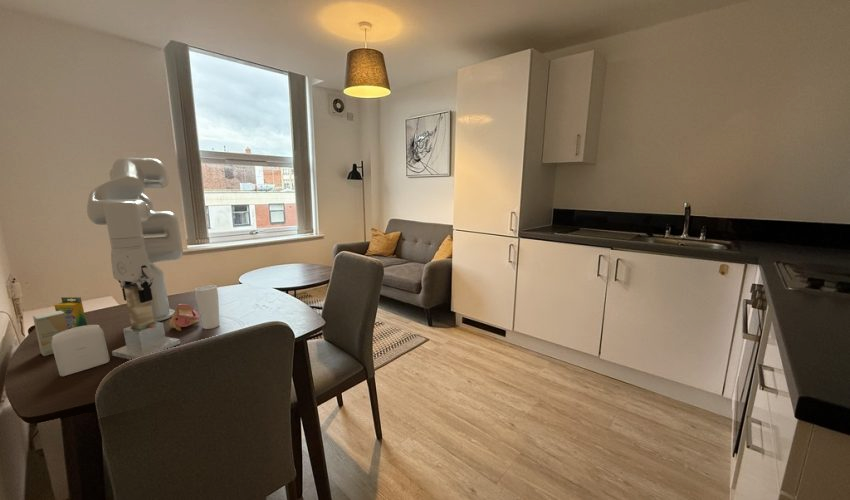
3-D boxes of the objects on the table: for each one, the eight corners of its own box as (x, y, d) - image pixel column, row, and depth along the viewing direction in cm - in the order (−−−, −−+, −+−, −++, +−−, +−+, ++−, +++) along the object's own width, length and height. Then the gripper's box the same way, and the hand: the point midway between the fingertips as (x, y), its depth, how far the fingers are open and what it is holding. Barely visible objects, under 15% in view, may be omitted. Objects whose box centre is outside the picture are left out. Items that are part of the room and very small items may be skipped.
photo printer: (59, 378, 90) (49, 336, 87) (58, 373, 92) (48, 331, 90) (111, 363, 97) (102, 323, 95) (108, 358, 100) (100, 319, 98)
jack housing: (112, 355, 101) (107, 329, 100) (154, 338, 113) (150, 315, 111) (140, 361, 98) (134, 335, 96) (180, 343, 109) (176, 319, 107)
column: (131, 328, 102) (123, 285, 100) (146, 323, 106) (138, 281, 104) (140, 330, 101) (132, 286, 99) (155, 325, 105) (147, 282, 102)
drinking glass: (211, 331, 118) (205, 291, 115) (195, 329, 119) (189, 290, 116) (226, 323, 124) (221, 285, 121) (211, 322, 126) (205, 284, 123)
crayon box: (59, 330, 120) (52, 300, 117) (68, 327, 122) (61, 297, 120) (79, 330, 119) (72, 299, 117) (88, 327, 122) (81, 297, 120)
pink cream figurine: (163, 335, 117) (161, 311, 121) (191, 337, 125) (188, 314, 130) (182, 322, 115) (179, 298, 119) (208, 325, 124) (206, 303, 128)
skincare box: (43, 356, 101) (34, 319, 99) (40, 353, 103) (30, 316, 101) (73, 348, 107) (65, 312, 104) (69, 344, 109) (61, 309, 106)
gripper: (93, 243, 98) (105, 301, 101) (133, 246, 92) (144, 307, 96) (122, 239, 105) (133, 293, 108) (161, 242, 99) (171, 299, 103)
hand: (138, 299), depth 102 cm, fingers open, 6 cm apart
